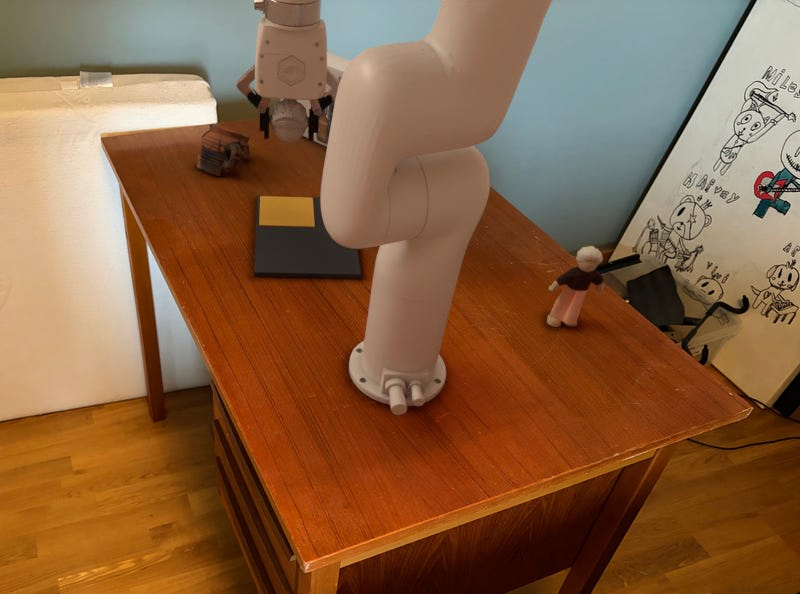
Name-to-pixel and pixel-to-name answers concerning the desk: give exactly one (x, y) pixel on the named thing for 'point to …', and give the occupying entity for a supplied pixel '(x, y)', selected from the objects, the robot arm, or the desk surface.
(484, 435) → the desk surface
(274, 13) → the robot arm
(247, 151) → the pottery mug
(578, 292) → the grandmother figurine
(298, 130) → the carved stone head
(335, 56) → the white product box
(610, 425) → the desk surface
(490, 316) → the desk surface
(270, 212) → the desk mat
